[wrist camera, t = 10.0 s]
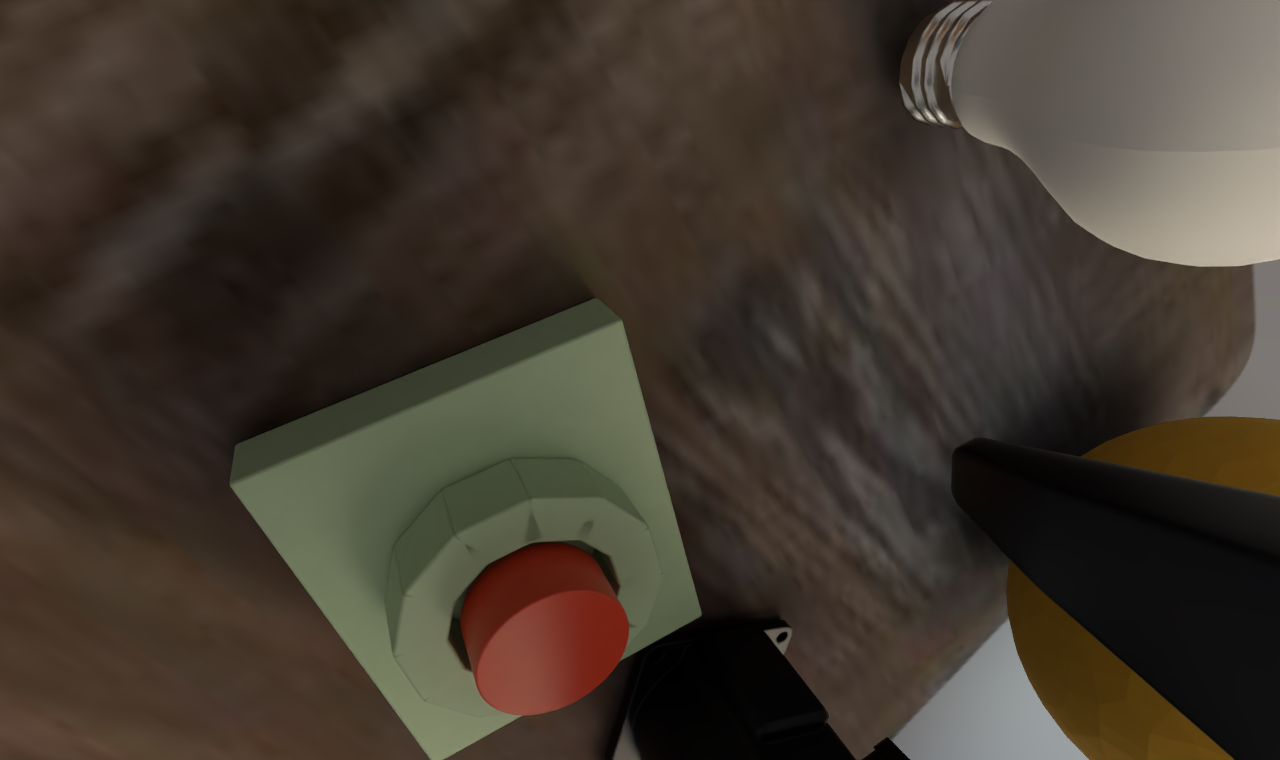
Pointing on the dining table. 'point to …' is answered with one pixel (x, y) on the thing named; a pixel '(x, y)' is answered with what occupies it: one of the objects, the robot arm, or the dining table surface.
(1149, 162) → the light bulb
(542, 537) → the button box
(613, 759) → the robot arm
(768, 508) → the dining table surface
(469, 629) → the button
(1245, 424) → the emoji
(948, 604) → the dining table surface
